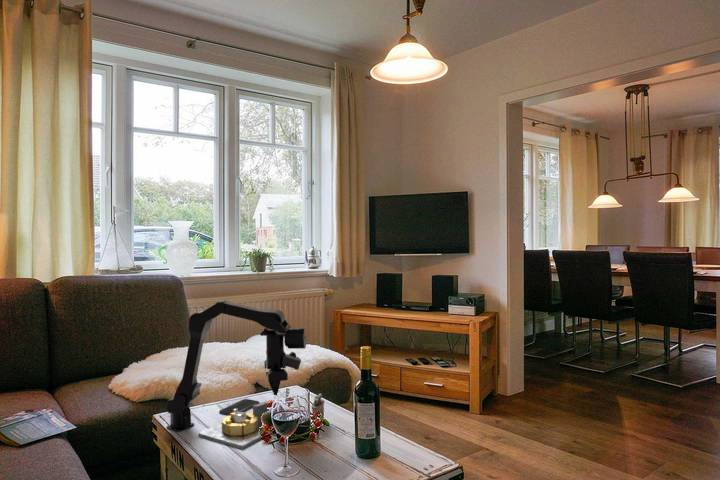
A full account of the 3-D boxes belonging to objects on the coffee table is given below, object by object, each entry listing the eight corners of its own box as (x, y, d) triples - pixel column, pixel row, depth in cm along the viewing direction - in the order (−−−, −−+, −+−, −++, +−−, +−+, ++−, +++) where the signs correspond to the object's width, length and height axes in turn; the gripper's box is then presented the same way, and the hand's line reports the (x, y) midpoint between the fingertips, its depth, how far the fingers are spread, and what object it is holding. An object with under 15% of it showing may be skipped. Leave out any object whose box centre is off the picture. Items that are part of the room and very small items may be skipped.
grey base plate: (198, 436, 157) (198, 417, 157) (238, 417, 172) (238, 401, 172) (242, 449, 147) (242, 429, 147) (280, 428, 163) (280, 410, 163)
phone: (260, 401, 187) (234, 414, 174) (260, 404, 187) (234, 417, 174) (244, 398, 191) (217, 411, 177) (244, 401, 191) (217, 414, 177)
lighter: (319, 430, 161) (319, 400, 161) (309, 429, 162) (309, 399, 162) (326, 421, 169) (326, 392, 169) (316, 420, 170) (316, 391, 170)
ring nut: (233, 438, 152) (233, 419, 152) (216, 428, 160) (216, 410, 160) (282, 422, 165) (282, 404, 165) (264, 413, 173) (264, 396, 173)
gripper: (303, 353, 156) (303, 401, 156) (295, 340, 174) (296, 384, 174) (267, 355, 153) (268, 405, 153) (263, 343, 171) (264, 387, 171)
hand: (275, 394), depth 163 cm, fingers closed
